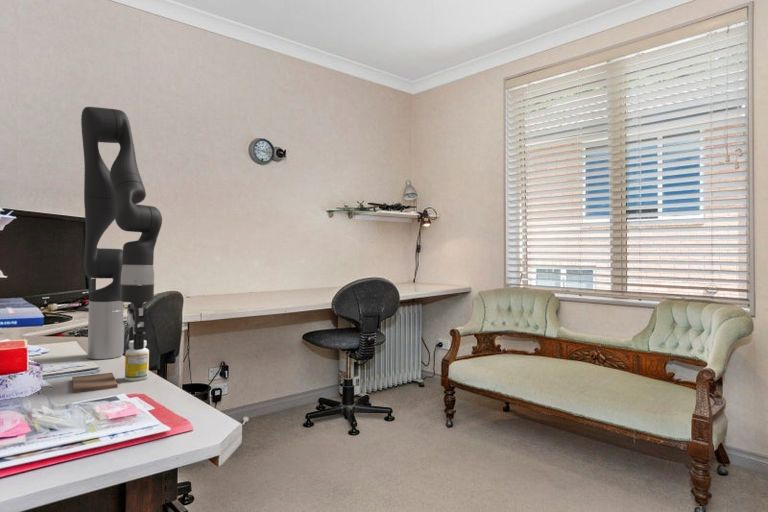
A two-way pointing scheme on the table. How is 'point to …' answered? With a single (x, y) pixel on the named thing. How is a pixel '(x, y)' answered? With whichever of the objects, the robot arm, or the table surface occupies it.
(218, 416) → the table surface
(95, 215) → the robot arm
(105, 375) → the walnut mat
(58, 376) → the table surface
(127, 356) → the supplement bottle
